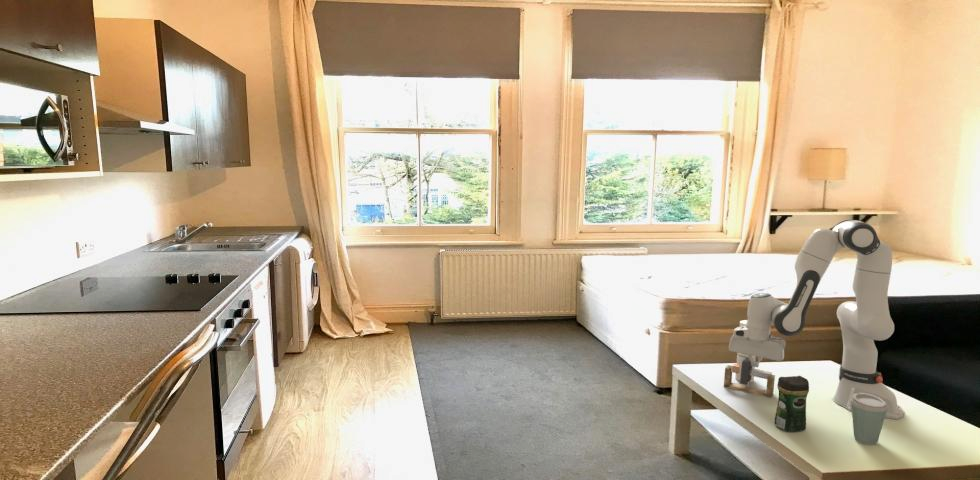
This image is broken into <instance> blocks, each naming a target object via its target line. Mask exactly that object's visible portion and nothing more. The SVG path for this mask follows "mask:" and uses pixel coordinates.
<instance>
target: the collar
mask: <svg viewBox="0 0 980 480" xmlns="http://www.w3.org/2000/svg"><path fill="white" fill-rule="evenodd" d="M752 359H753V358H752ZM750 364H751V362H750V360H749V358H748V357H746V358H745V359H744V360H743V362H742V368H741V380H740V381H739V384H741V385H745V386H748V385H749V383H751V382H750V380H751V376H750V375H749V368H752V366H750Z"/></svg>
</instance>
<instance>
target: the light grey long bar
mask: <svg viewBox="0 0 980 480" xmlns="http://www.w3.org/2000/svg"><path fill="white" fill-rule="evenodd" d="M728 368H731V371H732V374H733V373H734V374H736V373H738V374H739V373H741V368H742V366H741V365H738V364H737V363H734V364H733V363H729V364H728ZM749 375H750V376H754V378H760V379H765V380H767V378H768V377H771V376H772V375H773V372H771V371H767V370H764V369H763V370H762V369H759V368H755V369H753V368H749Z"/></svg>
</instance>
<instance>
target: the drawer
mask: <svg viewBox="0 0 980 480" xmlns="http://www.w3.org/2000/svg"><path fill="white" fill-rule="evenodd" d="M728 365H729V364H728ZM728 365H726V366H725V368H724V378H723V379H724V380H723V387H724V388H729V389H734V390H737V391H741V392H746V393H750V394H754V395H759V396H763V397H767V398H772V397H773V395H774V390H775V381H776V375H775V374H772V376H771V377H768V378H767V379H766V382H767V383H766V389H763V388H757V387H753V386H749V385H744V384H740V383H736V382H732V378H733V372H732V371H731V368H728Z"/></svg>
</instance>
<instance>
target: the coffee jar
mask: <svg viewBox="0 0 980 480" xmlns="http://www.w3.org/2000/svg"><path fill="white" fill-rule="evenodd" d="M777 389H778V398H777V404H776V411H775V414H774V415H775V416H774V425H775V426H776V427H777V428H778V429H780V430H782V431H784V432H788V433H791V432H802V431H803V432H804V431H805V430H806V427H807V397H808V394H809V392H810V383H809V380H808V379H807V378H805V377H803V376H802V375H796V376H793V375H792V376H780V377H778V381H777Z"/></svg>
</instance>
